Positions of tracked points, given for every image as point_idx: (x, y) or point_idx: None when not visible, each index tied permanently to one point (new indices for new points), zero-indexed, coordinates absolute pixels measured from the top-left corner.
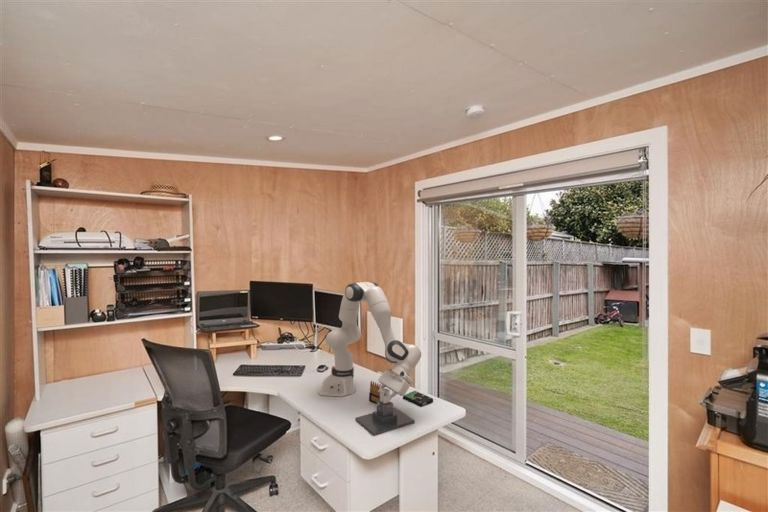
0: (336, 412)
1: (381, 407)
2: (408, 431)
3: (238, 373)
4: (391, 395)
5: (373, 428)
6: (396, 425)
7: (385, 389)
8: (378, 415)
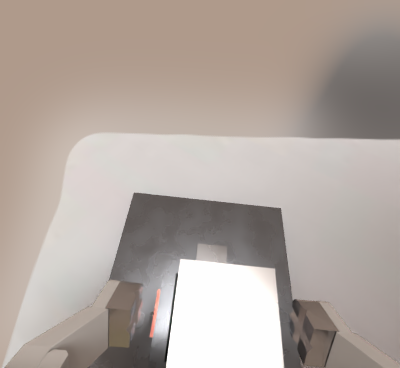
0: (368, 195)
1: None
2: None
3: None
4: (75, 322)
5: (160, 212)
6: None
7: (251, 354)
8: None
